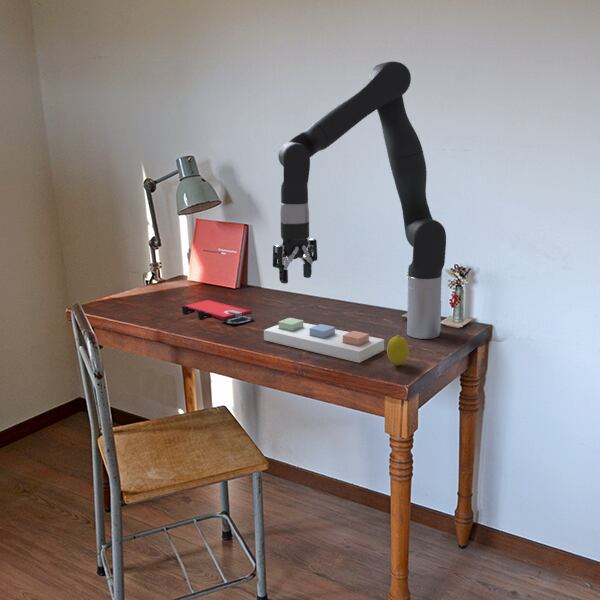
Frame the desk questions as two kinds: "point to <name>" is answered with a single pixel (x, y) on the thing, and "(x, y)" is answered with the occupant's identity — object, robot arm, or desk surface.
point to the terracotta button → (356, 338)
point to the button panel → (324, 343)
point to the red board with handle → (218, 311)
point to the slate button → (322, 331)
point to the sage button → (290, 324)
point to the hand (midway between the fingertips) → (295, 280)
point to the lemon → (398, 350)
